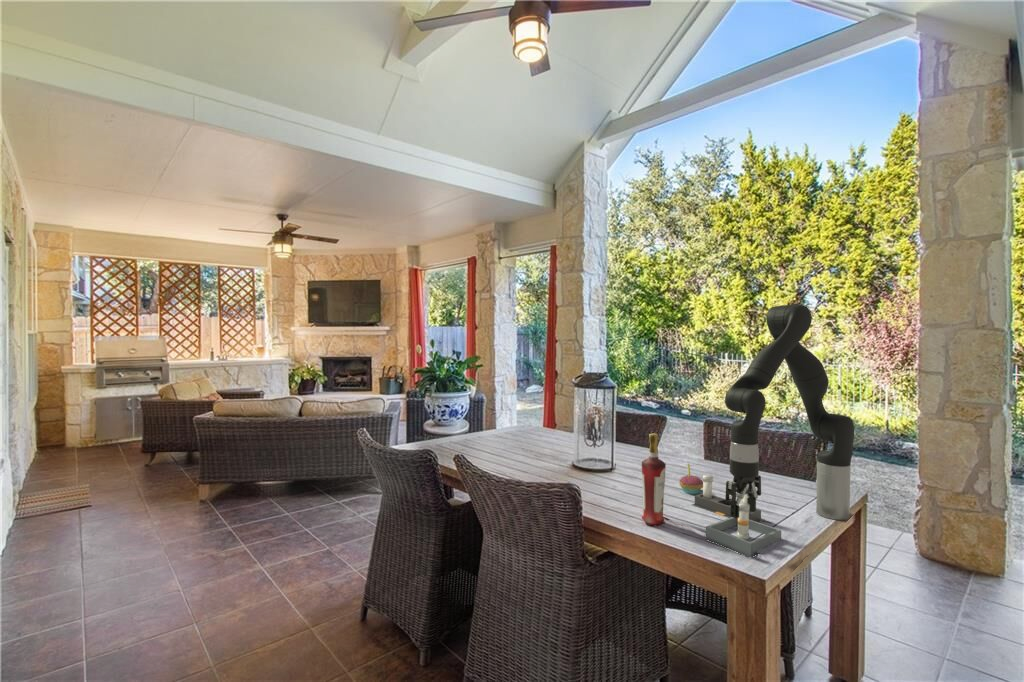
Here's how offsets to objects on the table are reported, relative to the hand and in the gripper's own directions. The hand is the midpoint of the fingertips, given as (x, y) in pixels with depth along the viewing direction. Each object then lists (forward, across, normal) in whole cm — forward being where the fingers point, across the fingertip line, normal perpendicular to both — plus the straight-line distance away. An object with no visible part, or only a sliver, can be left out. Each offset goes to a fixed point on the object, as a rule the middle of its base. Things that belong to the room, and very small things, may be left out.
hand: (743, 514), depth 142 cm
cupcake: (+8, +22, +33) cm, 41 cm away
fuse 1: (+7, +14, +21) cm, 26 cm away
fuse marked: (+7, 0, 0) cm, 7 cm away
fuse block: (+8, +14, +14) cm, 21 cm away
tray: (+8, 0, 0) cm, 8 cm away
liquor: (+8, -10, +24) cm, 27 cm away
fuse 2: (+7, +14, +7) cm, 17 cm away
